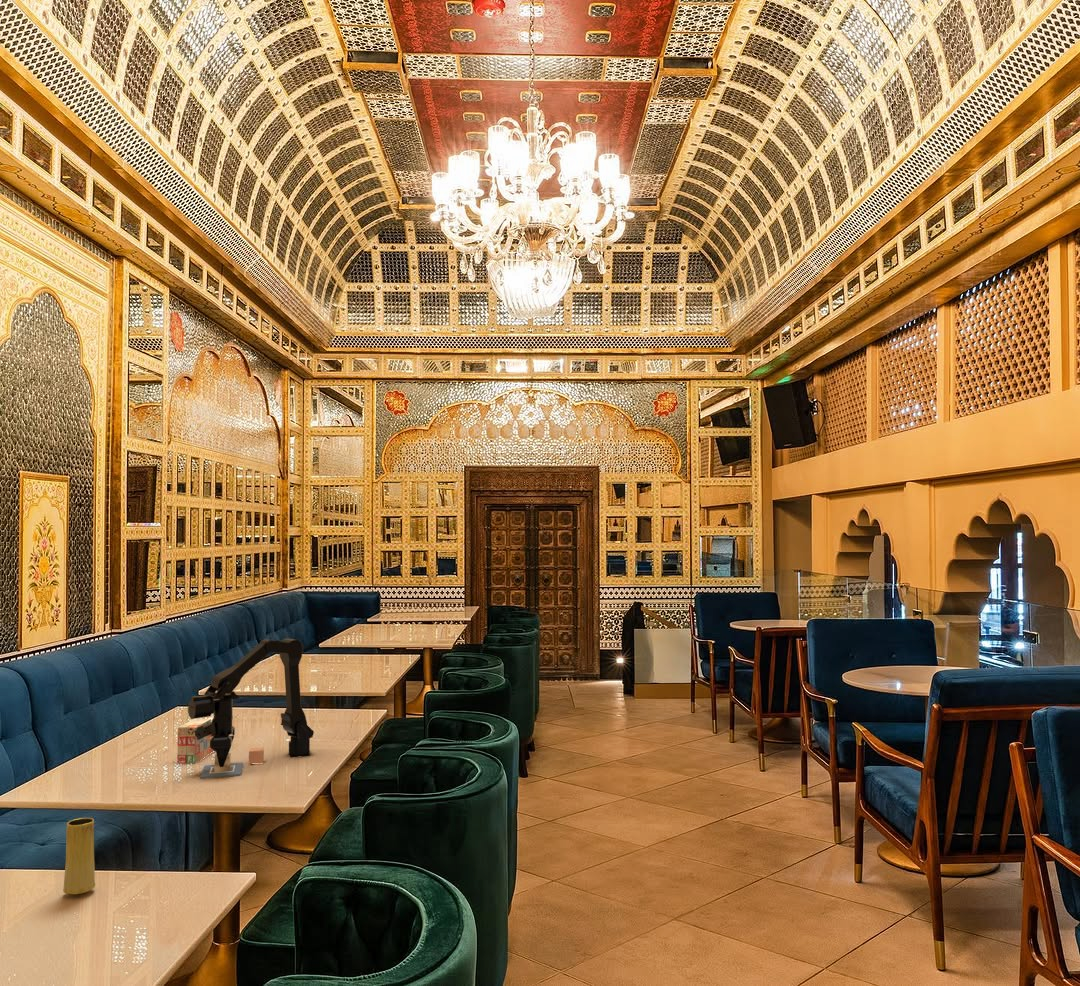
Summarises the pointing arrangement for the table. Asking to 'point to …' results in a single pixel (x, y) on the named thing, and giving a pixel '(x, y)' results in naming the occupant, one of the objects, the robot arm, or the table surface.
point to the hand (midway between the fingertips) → (222, 763)
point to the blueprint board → (209, 771)
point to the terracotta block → (256, 755)
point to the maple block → (226, 765)
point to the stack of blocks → (192, 742)
